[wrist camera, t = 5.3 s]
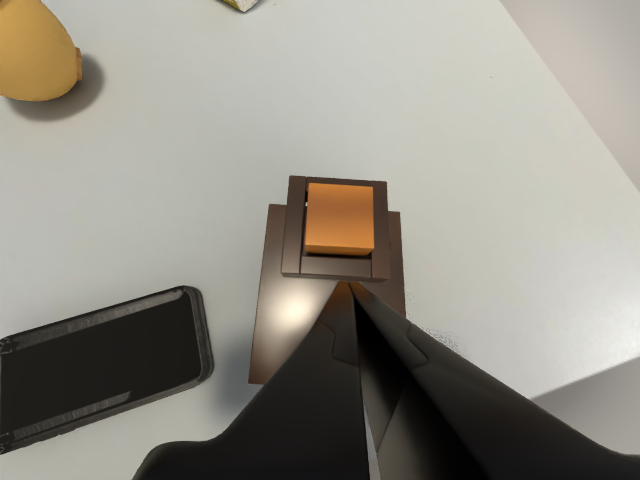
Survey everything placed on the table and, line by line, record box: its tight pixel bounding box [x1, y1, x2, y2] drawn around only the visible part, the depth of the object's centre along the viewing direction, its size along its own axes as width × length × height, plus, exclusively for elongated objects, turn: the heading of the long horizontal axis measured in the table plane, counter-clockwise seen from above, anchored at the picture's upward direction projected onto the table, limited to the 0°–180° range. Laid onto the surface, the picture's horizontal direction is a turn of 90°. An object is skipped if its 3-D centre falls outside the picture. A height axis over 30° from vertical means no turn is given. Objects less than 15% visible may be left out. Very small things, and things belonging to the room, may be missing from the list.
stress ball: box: [0, 0, 82, 101], centre depth 21 cm, size 10×10×10 cm
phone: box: [0, 285, 213, 455], centre depth 18 cm, size 8×1×15 cm
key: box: [305, 183, 374, 256], centre depth 15 cm, size 4×4×2 cm
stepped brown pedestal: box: [248, 176, 406, 385], centre depth 18 cm, size 14×10×7 cm
